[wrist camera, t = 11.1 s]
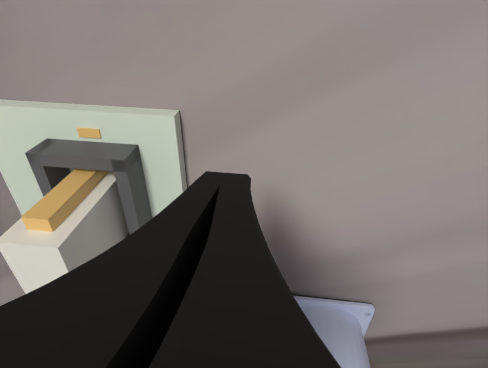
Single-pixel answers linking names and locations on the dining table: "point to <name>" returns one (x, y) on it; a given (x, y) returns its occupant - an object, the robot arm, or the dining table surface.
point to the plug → (65, 228)
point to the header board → (93, 152)
